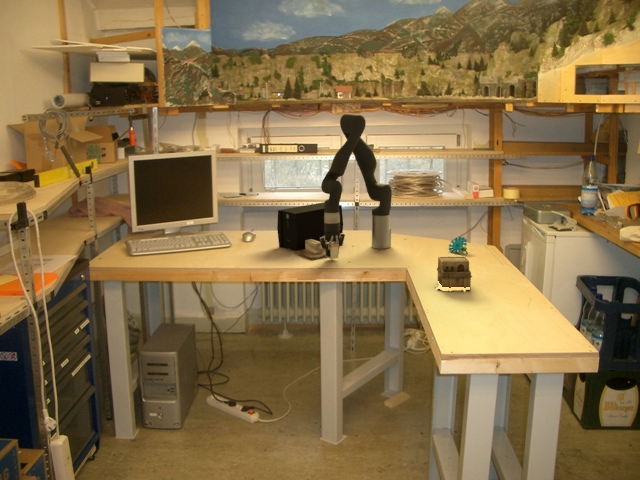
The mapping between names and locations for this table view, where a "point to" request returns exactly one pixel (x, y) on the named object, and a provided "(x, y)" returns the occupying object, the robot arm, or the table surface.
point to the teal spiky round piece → (458, 245)
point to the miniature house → (454, 272)
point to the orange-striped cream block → (333, 251)
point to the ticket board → (311, 255)
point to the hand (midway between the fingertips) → (332, 255)
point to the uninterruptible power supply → (302, 225)
